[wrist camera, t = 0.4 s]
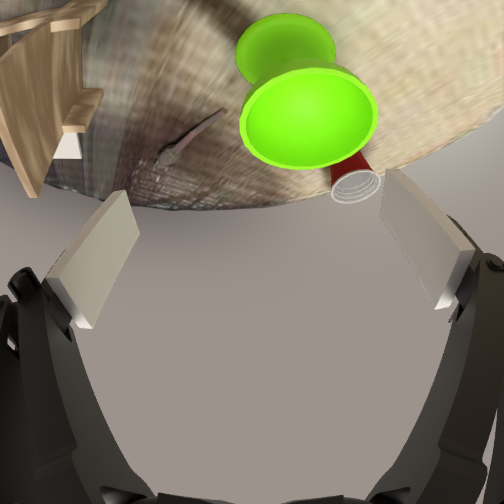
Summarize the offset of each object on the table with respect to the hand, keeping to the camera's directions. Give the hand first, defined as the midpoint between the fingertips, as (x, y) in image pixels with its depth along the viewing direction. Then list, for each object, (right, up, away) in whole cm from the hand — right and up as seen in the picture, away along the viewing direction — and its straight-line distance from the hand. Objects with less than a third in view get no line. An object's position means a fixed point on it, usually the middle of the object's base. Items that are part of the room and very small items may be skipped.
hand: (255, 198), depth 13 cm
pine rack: (-34, +29, +12) cm, 46 cm away
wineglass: (+5, +28, +22) cm, 36 cm away
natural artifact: (-13, +20, +39) cm, 46 cm away
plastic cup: (+20, +21, +42) cm, 51 cm away
